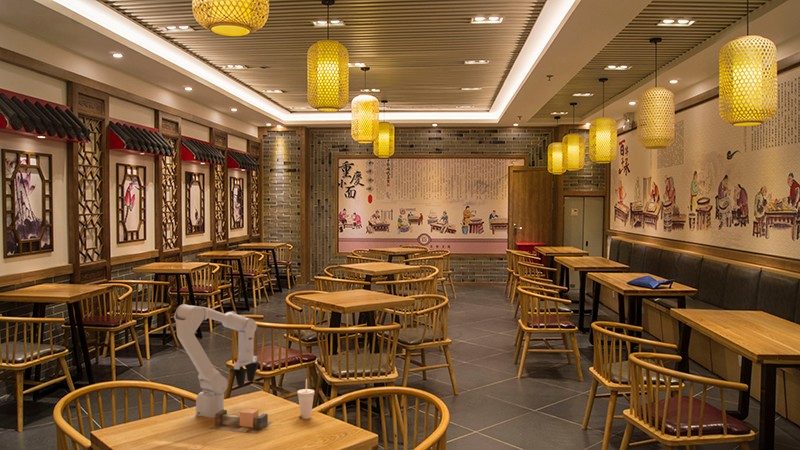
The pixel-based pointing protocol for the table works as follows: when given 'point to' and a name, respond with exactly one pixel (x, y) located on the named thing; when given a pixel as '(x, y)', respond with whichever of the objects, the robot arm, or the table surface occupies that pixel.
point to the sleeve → (248, 417)
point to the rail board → (230, 427)
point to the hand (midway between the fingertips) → (245, 383)
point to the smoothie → (305, 402)
